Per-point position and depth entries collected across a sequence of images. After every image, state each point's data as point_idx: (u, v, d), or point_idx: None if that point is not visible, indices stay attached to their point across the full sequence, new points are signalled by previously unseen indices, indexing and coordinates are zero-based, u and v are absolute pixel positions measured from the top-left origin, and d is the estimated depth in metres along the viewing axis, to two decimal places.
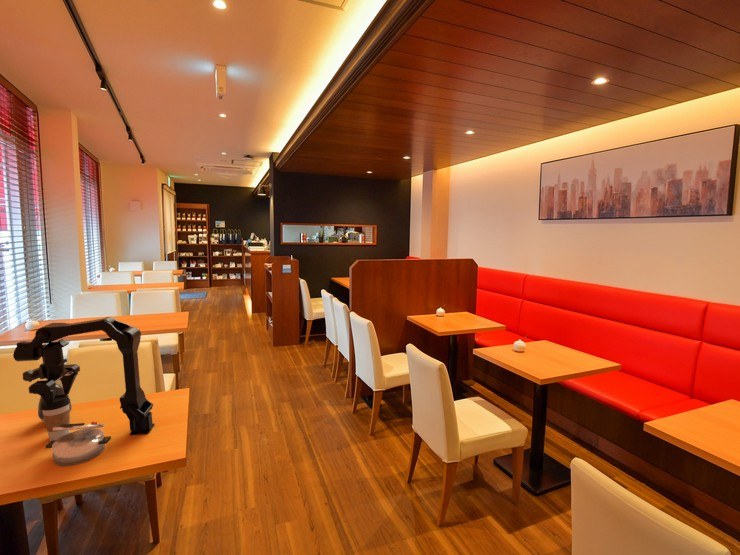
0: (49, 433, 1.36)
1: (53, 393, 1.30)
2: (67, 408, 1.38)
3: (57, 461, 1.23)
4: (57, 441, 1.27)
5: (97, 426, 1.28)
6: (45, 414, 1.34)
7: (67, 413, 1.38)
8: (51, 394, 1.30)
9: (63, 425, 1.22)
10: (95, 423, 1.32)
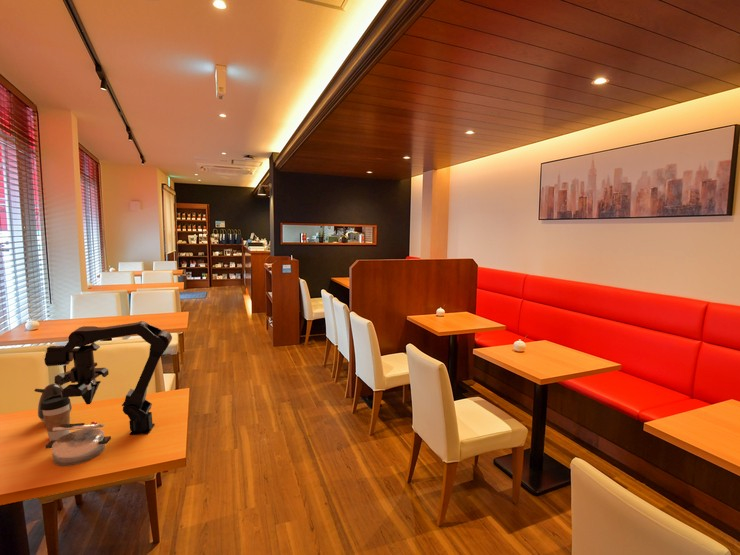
0: (49, 433, 1.36)
1: (92, 391, 1.34)
2: (67, 408, 1.38)
3: (57, 461, 1.23)
4: (57, 441, 1.27)
5: (97, 426, 1.28)
6: (45, 414, 1.34)
7: (67, 413, 1.38)
8: (90, 392, 1.34)
9: (63, 425, 1.22)
10: (95, 423, 1.32)
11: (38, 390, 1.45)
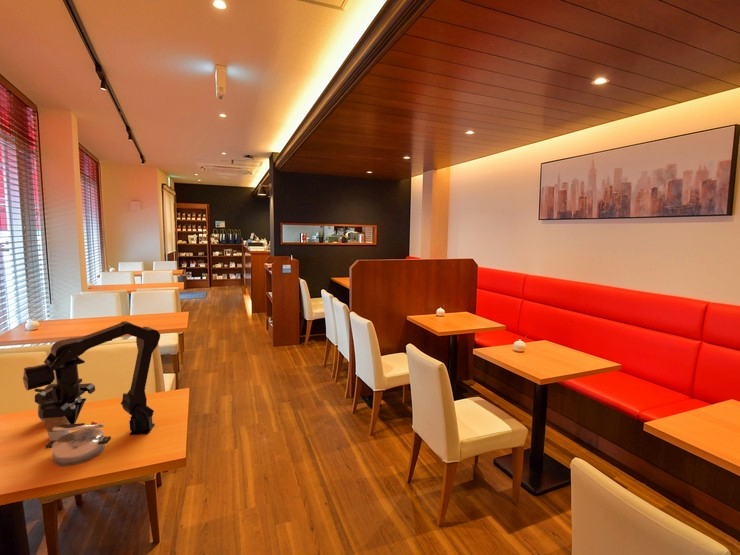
0: (49, 433, 1.36)
1: (76, 410, 1.23)
2: None
3: (57, 461, 1.23)
4: (57, 441, 1.27)
5: (97, 426, 1.28)
6: None
7: None
8: (74, 411, 1.23)
9: (63, 425, 1.22)
10: (95, 423, 1.32)
11: (38, 390, 1.45)
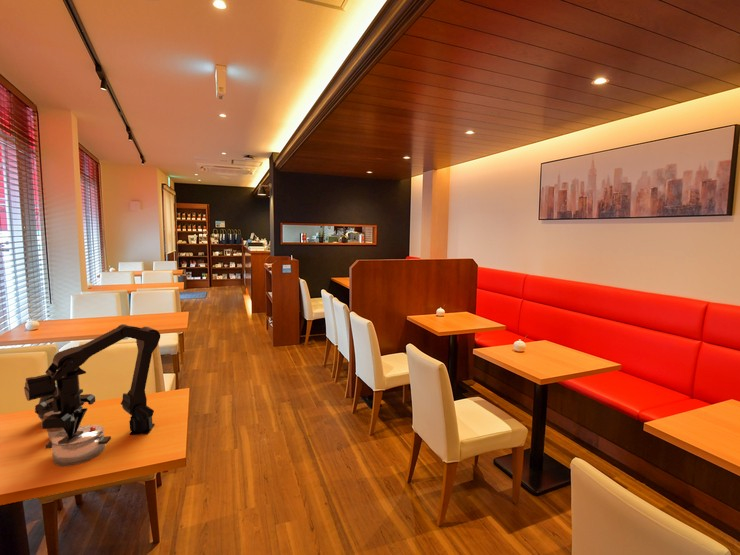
0: (49, 433, 1.36)
1: (74, 422, 1.23)
2: None
3: (57, 461, 1.23)
4: None
5: (96, 436, 1.28)
6: (45, 414, 1.34)
7: None
8: (72, 423, 1.22)
9: (61, 442, 1.21)
10: (94, 429, 1.31)
11: None
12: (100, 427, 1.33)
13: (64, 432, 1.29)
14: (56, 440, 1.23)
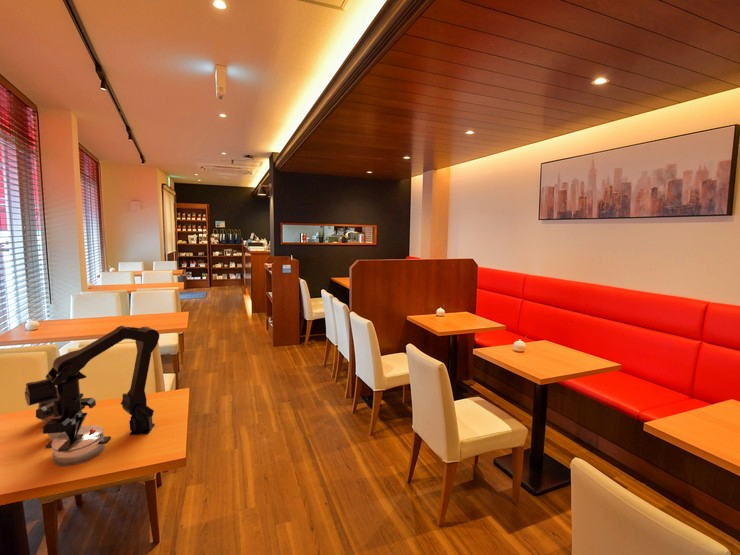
0: (49, 433, 1.36)
1: (76, 426, 1.24)
2: None
3: (57, 461, 1.23)
4: None
5: (96, 440, 1.28)
6: None
7: None
8: (74, 427, 1.23)
9: (61, 449, 1.21)
10: (94, 431, 1.31)
11: None
12: (100, 428, 1.33)
13: (64, 434, 1.29)
14: (56, 445, 1.23)
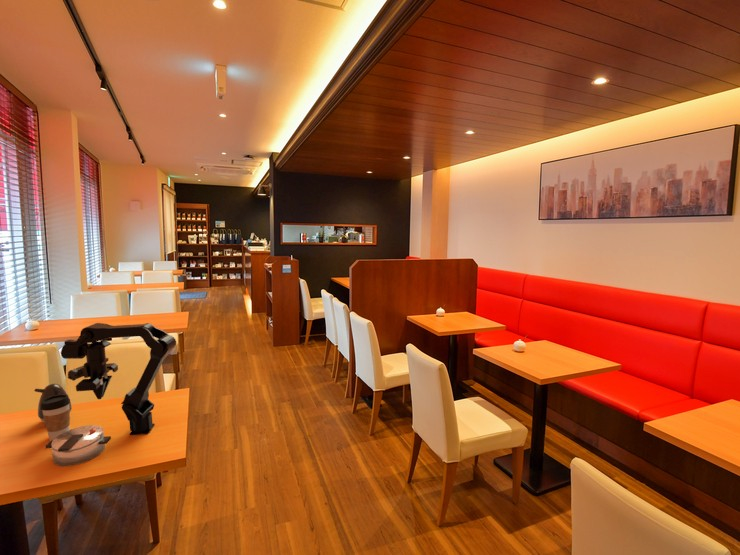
0: (49, 433, 1.36)
1: (103, 386, 1.38)
2: (67, 408, 1.38)
3: (57, 461, 1.23)
4: None
5: (96, 440, 1.28)
6: (45, 414, 1.34)
7: (67, 413, 1.38)
8: (101, 387, 1.38)
9: (61, 449, 1.21)
10: (94, 431, 1.31)
11: (38, 390, 1.45)
12: (100, 428, 1.33)
13: (64, 434, 1.29)
14: (56, 445, 1.23)
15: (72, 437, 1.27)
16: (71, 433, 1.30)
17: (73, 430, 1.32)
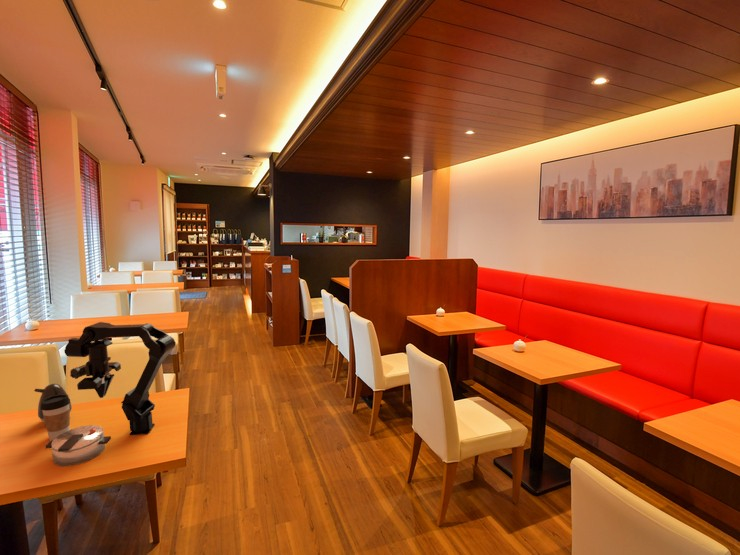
0: (49, 433, 1.36)
1: (105, 385, 1.39)
2: (67, 408, 1.38)
3: (57, 461, 1.23)
4: None
5: (96, 440, 1.28)
6: (45, 414, 1.34)
7: (67, 413, 1.38)
8: (103, 386, 1.39)
9: (61, 449, 1.21)
10: (94, 431, 1.31)
11: (38, 390, 1.45)
12: (100, 428, 1.33)
13: (64, 434, 1.29)
14: (56, 445, 1.23)
15: (72, 437, 1.27)
16: (71, 433, 1.30)
17: (73, 430, 1.32)
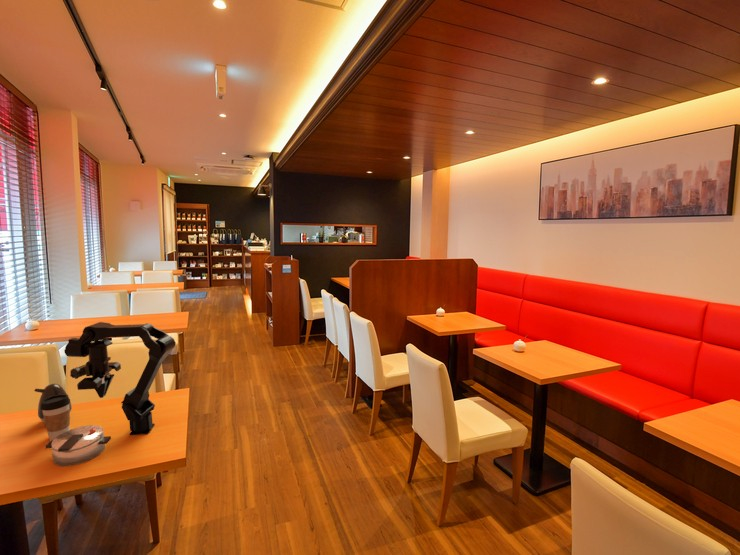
0: (49, 433, 1.36)
1: (105, 385, 1.39)
2: (67, 408, 1.38)
3: (57, 461, 1.23)
4: None
5: (96, 440, 1.28)
6: (45, 414, 1.34)
7: (67, 413, 1.38)
8: (103, 386, 1.39)
9: (61, 449, 1.21)
10: (94, 431, 1.31)
11: (38, 390, 1.45)
12: (100, 428, 1.33)
13: (64, 434, 1.29)
14: (56, 445, 1.23)
15: (72, 437, 1.27)
16: (71, 433, 1.30)
17: (73, 430, 1.32)
